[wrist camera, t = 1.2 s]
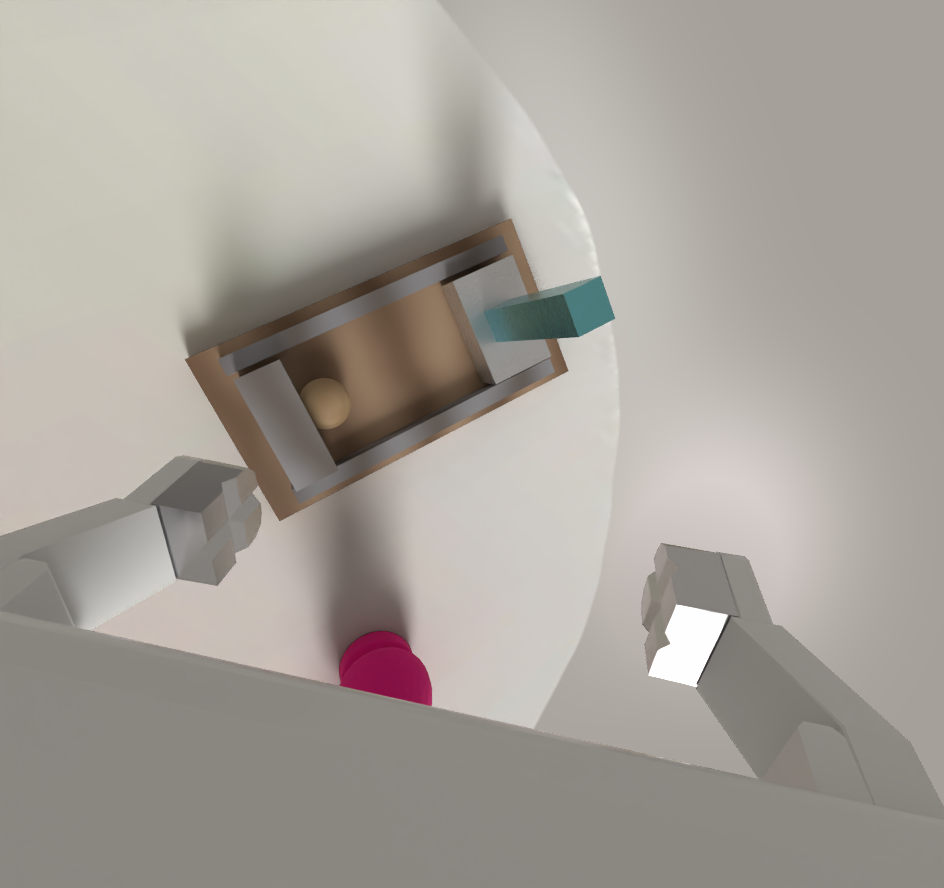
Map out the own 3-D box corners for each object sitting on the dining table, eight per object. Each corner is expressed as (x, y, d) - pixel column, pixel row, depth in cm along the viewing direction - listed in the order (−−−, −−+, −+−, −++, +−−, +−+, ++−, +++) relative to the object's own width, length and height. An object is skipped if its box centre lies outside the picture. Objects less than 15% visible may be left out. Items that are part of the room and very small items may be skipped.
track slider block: (482, 382, 43) (576, 395, 29) (441, 286, 41) (522, 250, 27) (534, 356, 45) (649, 356, 31) (497, 261, 42) (603, 214, 28)
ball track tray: (279, 513, 42) (279, 542, 36) (189, 359, 39) (170, 359, 32) (557, 370, 48) (600, 372, 41) (501, 224, 44) (539, 201, 38)
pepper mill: (387, 607, 46) (458, 778, 28) (433, 665, 48) (527, 860, 30) (315, 663, 45) (338, 882, 26) (365, 720, 47) (419, 959, 28)
